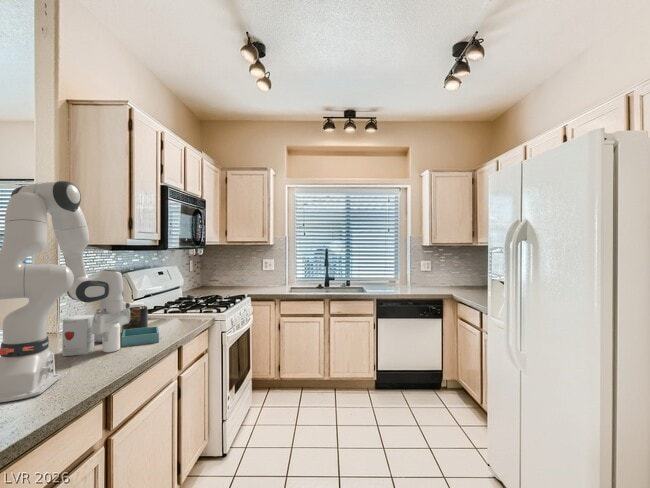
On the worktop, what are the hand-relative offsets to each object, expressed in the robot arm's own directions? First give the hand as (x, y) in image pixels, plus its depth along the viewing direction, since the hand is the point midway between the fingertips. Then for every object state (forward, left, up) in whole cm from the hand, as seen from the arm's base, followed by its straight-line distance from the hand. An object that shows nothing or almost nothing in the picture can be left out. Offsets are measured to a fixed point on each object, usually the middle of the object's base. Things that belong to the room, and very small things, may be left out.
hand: (111, 339), depth 150 cm
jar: (+30, -8, -5) cm, 31 cm away
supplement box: (+3, +12, -5) cm, 13 cm away
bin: (+12, -11, -5) cm, 17 cm away
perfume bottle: (+16, +5, -5) cm, 17 cm away
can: (0, 0, -5) cm, 5 cm away
